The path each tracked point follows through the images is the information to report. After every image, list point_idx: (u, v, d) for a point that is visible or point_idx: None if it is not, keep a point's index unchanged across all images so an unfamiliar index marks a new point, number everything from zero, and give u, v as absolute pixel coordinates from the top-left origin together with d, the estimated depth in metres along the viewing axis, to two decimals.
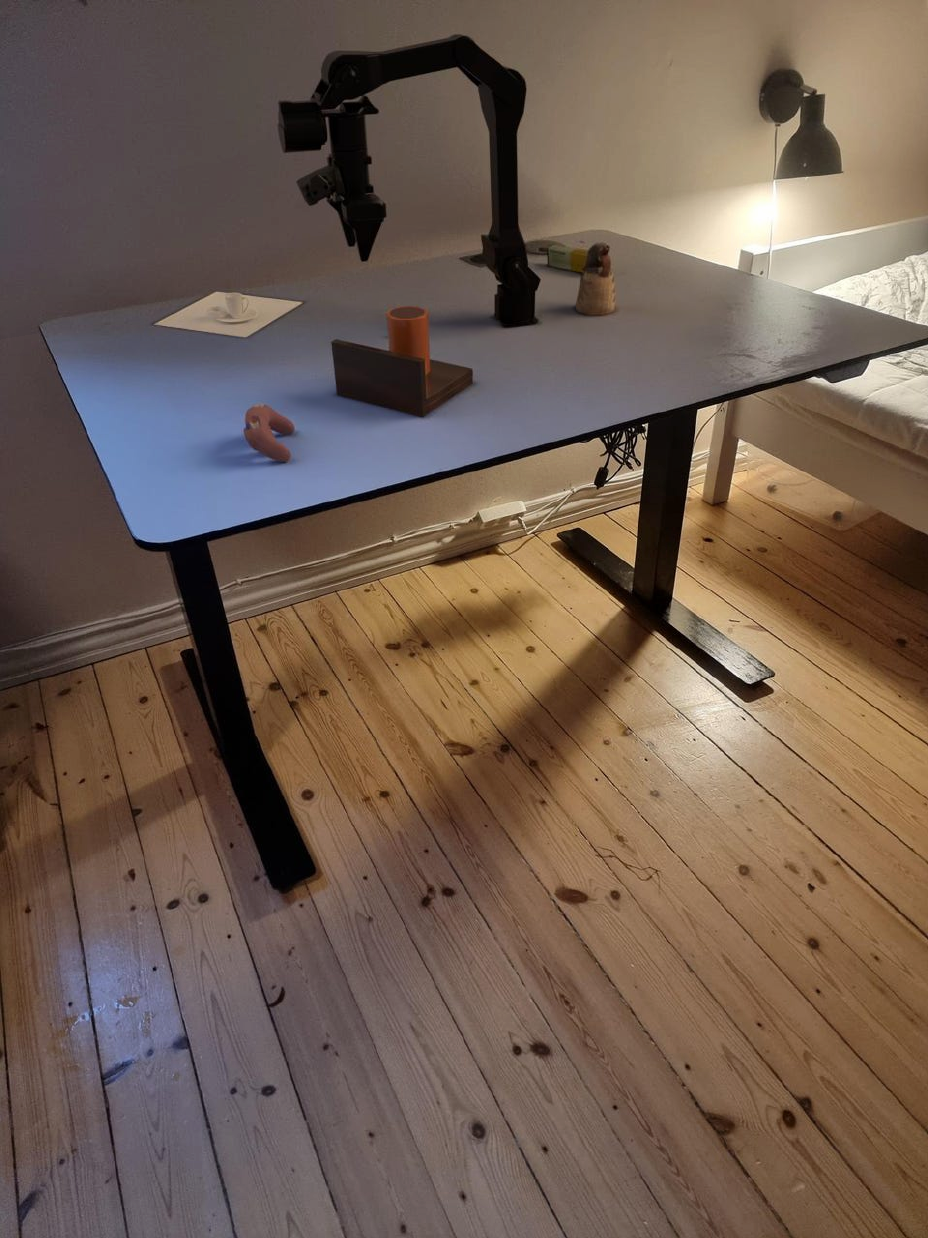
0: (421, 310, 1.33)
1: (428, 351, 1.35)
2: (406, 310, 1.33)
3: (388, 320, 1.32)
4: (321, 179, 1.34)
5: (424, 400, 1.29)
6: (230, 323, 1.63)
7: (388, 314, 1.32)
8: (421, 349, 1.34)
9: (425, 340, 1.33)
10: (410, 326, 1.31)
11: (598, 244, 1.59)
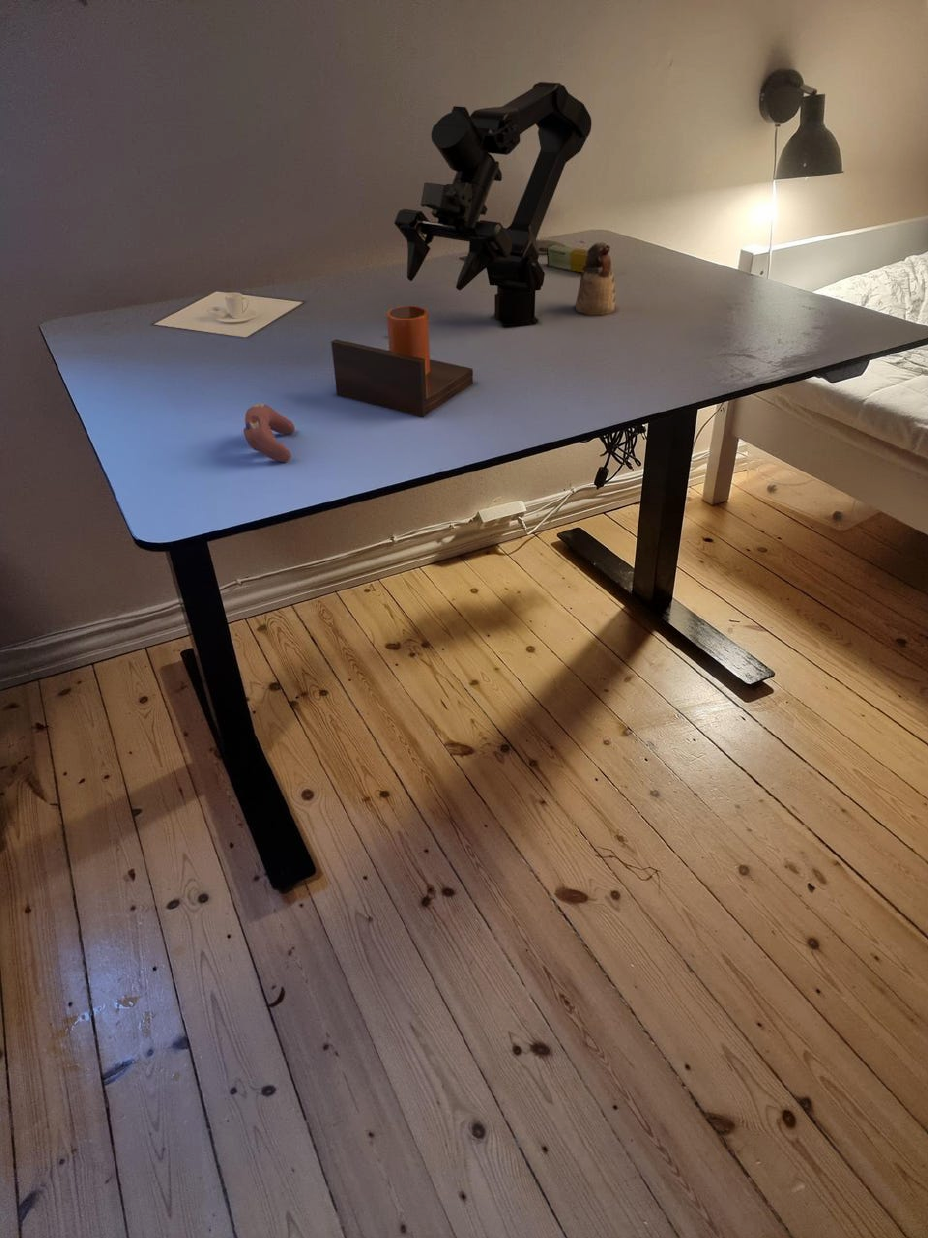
0: (421, 310, 1.33)
1: (428, 351, 1.35)
2: (406, 310, 1.33)
3: (388, 320, 1.32)
4: (471, 191, 1.30)
5: (424, 400, 1.29)
6: (230, 323, 1.63)
7: (388, 314, 1.32)
8: (421, 349, 1.34)
9: (425, 340, 1.33)
10: (410, 326, 1.31)
11: (598, 244, 1.59)
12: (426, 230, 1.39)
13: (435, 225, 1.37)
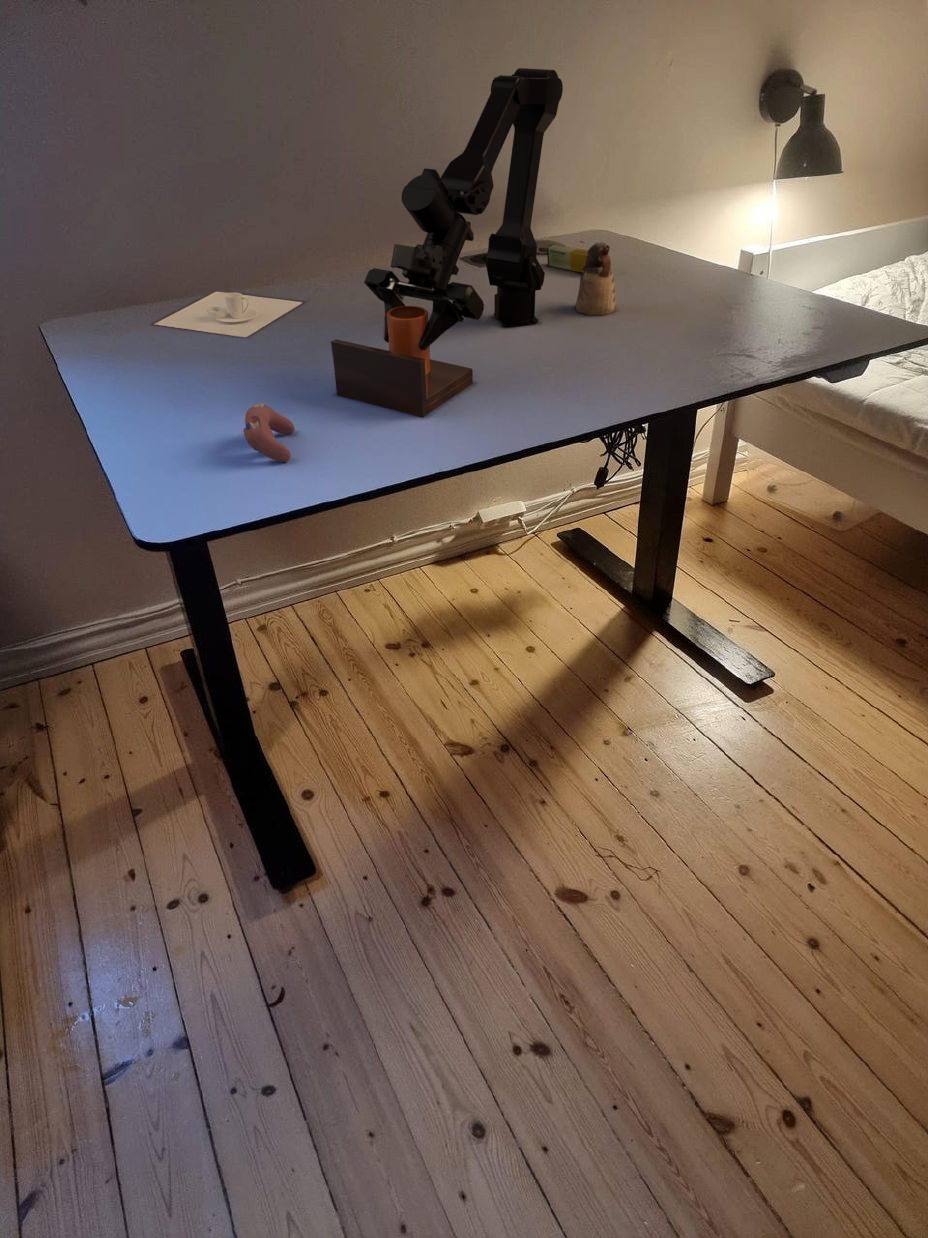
0: (421, 310, 1.33)
1: (428, 351, 1.35)
2: (406, 310, 1.33)
3: (388, 320, 1.32)
4: (441, 253, 1.28)
5: (424, 400, 1.29)
6: (230, 323, 1.63)
7: (388, 314, 1.32)
8: None
9: None
10: (410, 326, 1.31)
11: (598, 244, 1.59)
12: None
13: (413, 287, 1.34)
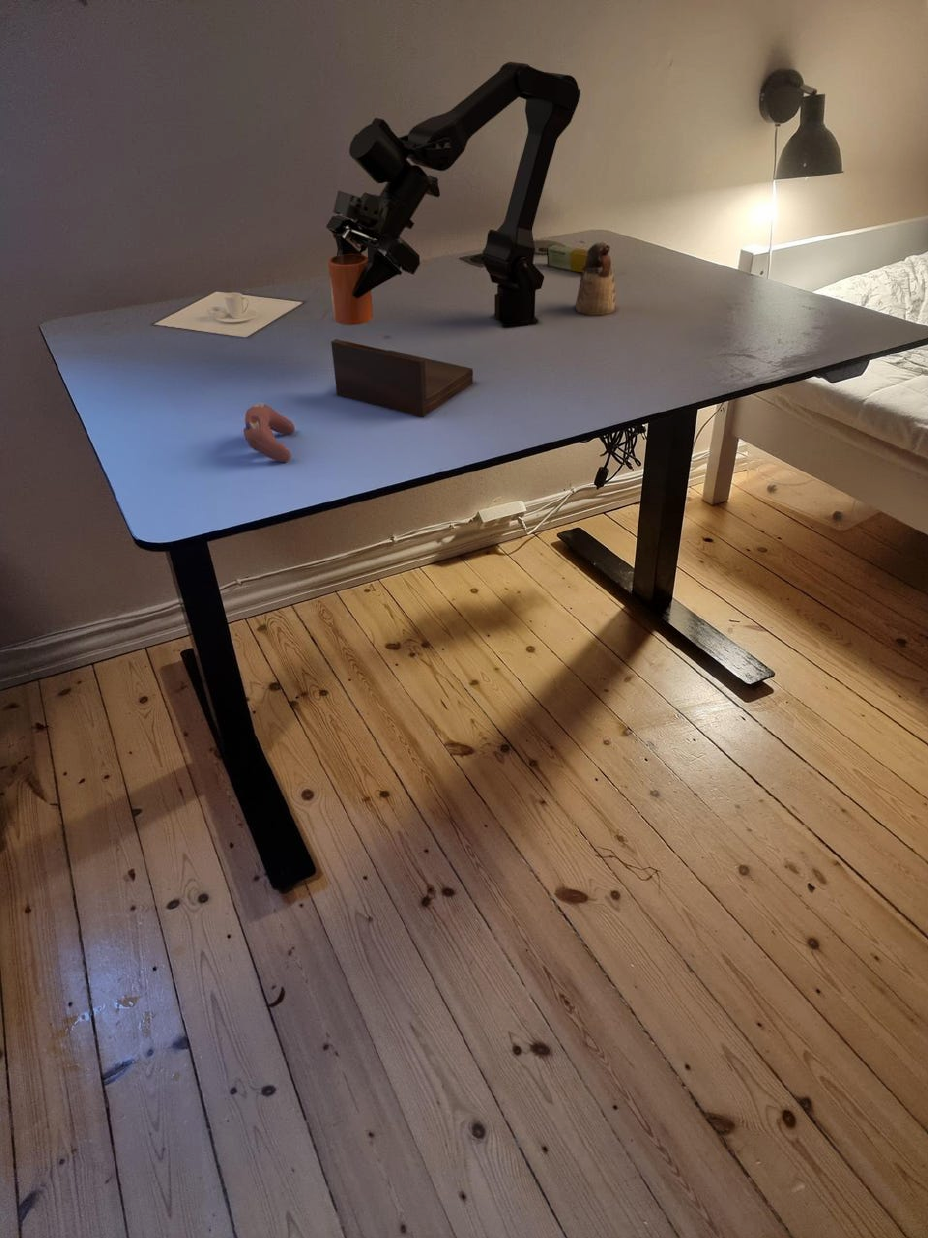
0: (362, 259, 1.36)
1: (366, 300, 1.38)
2: (349, 257, 1.37)
3: (328, 265, 1.36)
4: (377, 203, 1.30)
5: (424, 400, 1.29)
6: (230, 323, 1.63)
7: (330, 259, 1.36)
8: None
9: None
10: (343, 272, 1.34)
11: (598, 244, 1.59)
12: None
13: (362, 236, 1.37)
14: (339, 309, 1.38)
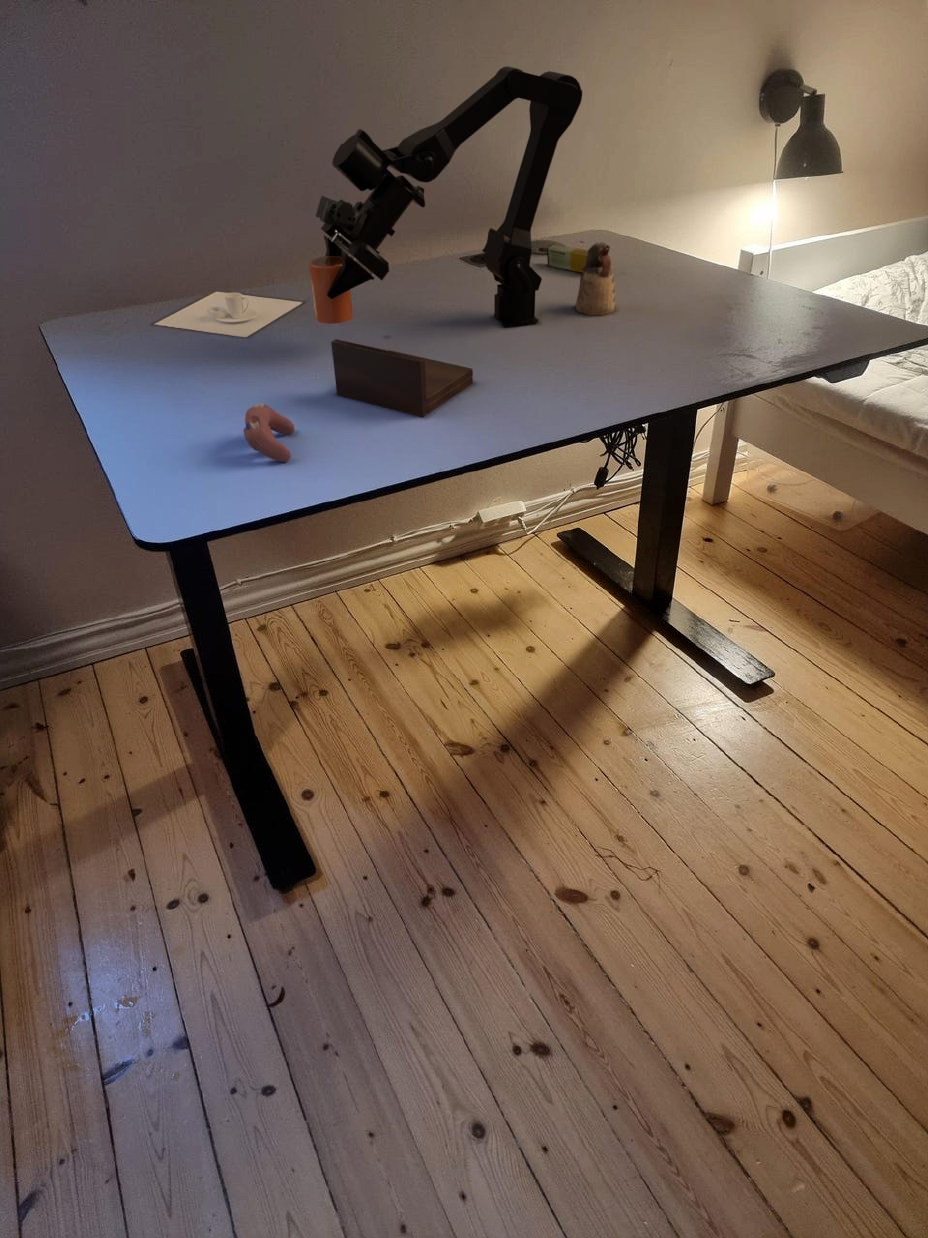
0: (341, 262, 1.43)
1: (342, 301, 1.45)
2: (331, 259, 1.44)
3: None
4: (351, 210, 1.36)
5: (424, 400, 1.29)
6: (230, 323, 1.63)
7: (312, 260, 1.44)
8: None
9: None
10: (318, 273, 1.41)
11: (598, 244, 1.59)
12: None
13: (345, 240, 1.43)
14: (317, 308, 1.46)
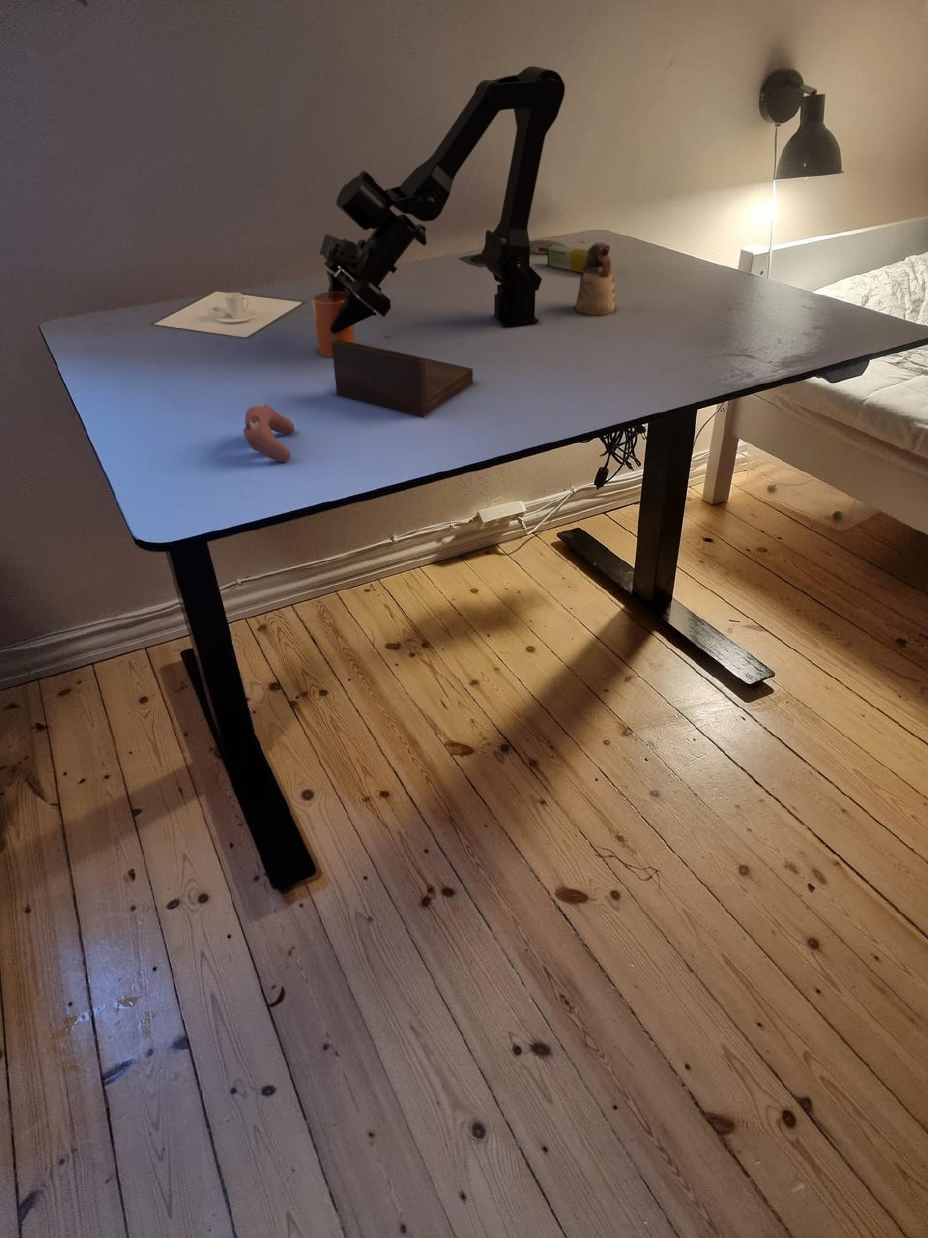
0: (344, 297, 1.46)
1: (345, 336, 1.48)
2: (334, 294, 1.47)
3: None
4: (354, 249, 1.39)
5: (424, 400, 1.29)
6: (230, 323, 1.63)
7: (316, 295, 1.47)
8: None
9: None
10: (322, 309, 1.45)
11: (598, 244, 1.59)
12: None
13: (348, 276, 1.47)
14: (320, 342, 1.49)
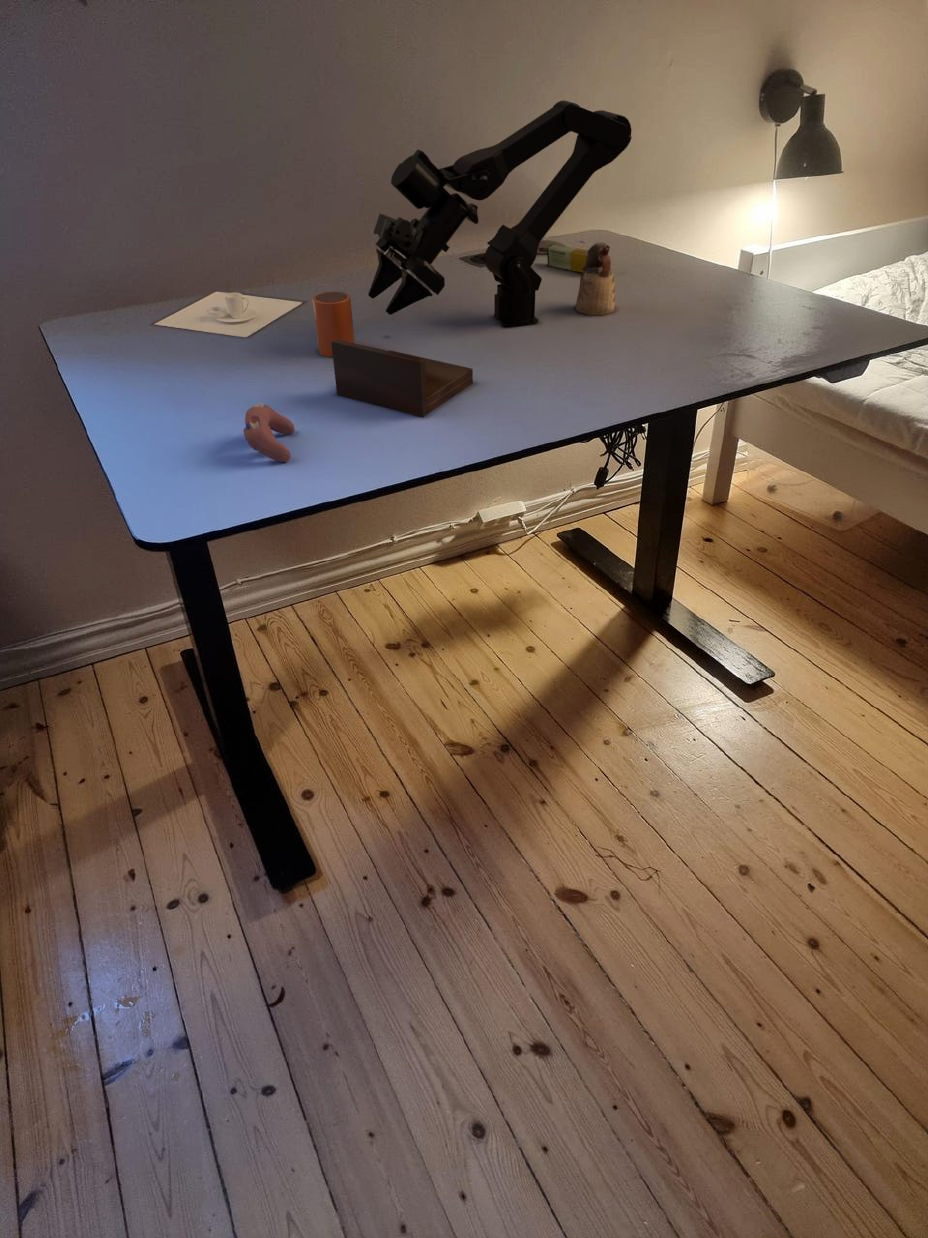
0: (344, 297, 1.46)
1: (345, 336, 1.48)
2: (334, 294, 1.47)
3: None
4: (409, 227, 1.41)
5: (424, 400, 1.29)
6: (230, 323, 1.63)
7: (316, 295, 1.47)
8: (334, 332, 1.47)
9: (338, 324, 1.46)
10: (322, 309, 1.45)
11: (598, 244, 1.59)
12: (396, 256, 1.52)
13: (398, 253, 1.49)
14: (320, 342, 1.49)
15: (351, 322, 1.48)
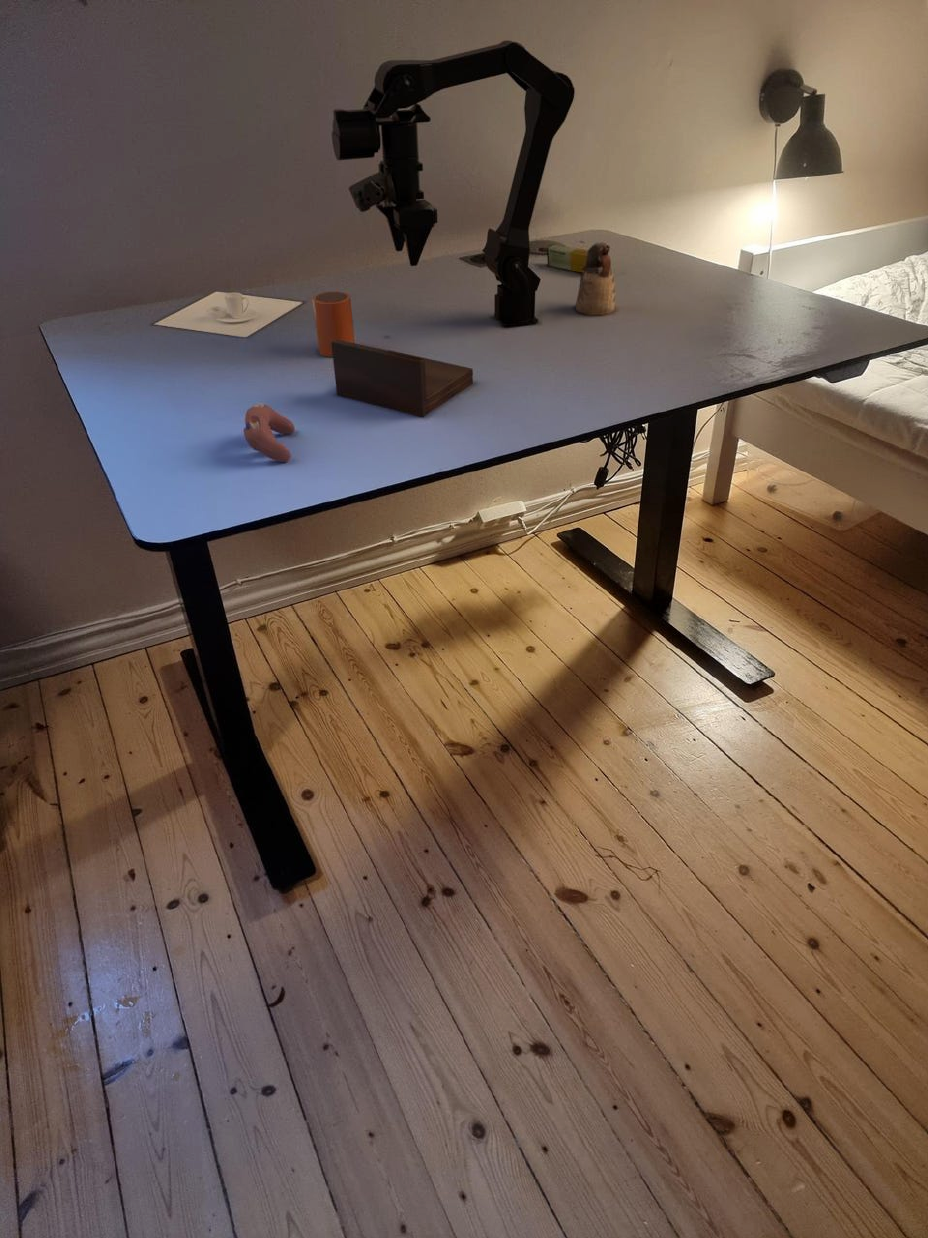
0: (344, 297, 1.46)
1: (345, 336, 1.48)
2: (334, 294, 1.47)
3: None
4: (374, 186, 1.37)
5: (424, 400, 1.29)
6: (230, 323, 1.63)
7: (316, 295, 1.47)
8: (334, 332, 1.47)
9: (338, 324, 1.46)
10: (322, 309, 1.45)
11: (598, 244, 1.59)
12: None
13: None
14: (320, 342, 1.49)
15: (351, 322, 1.48)
